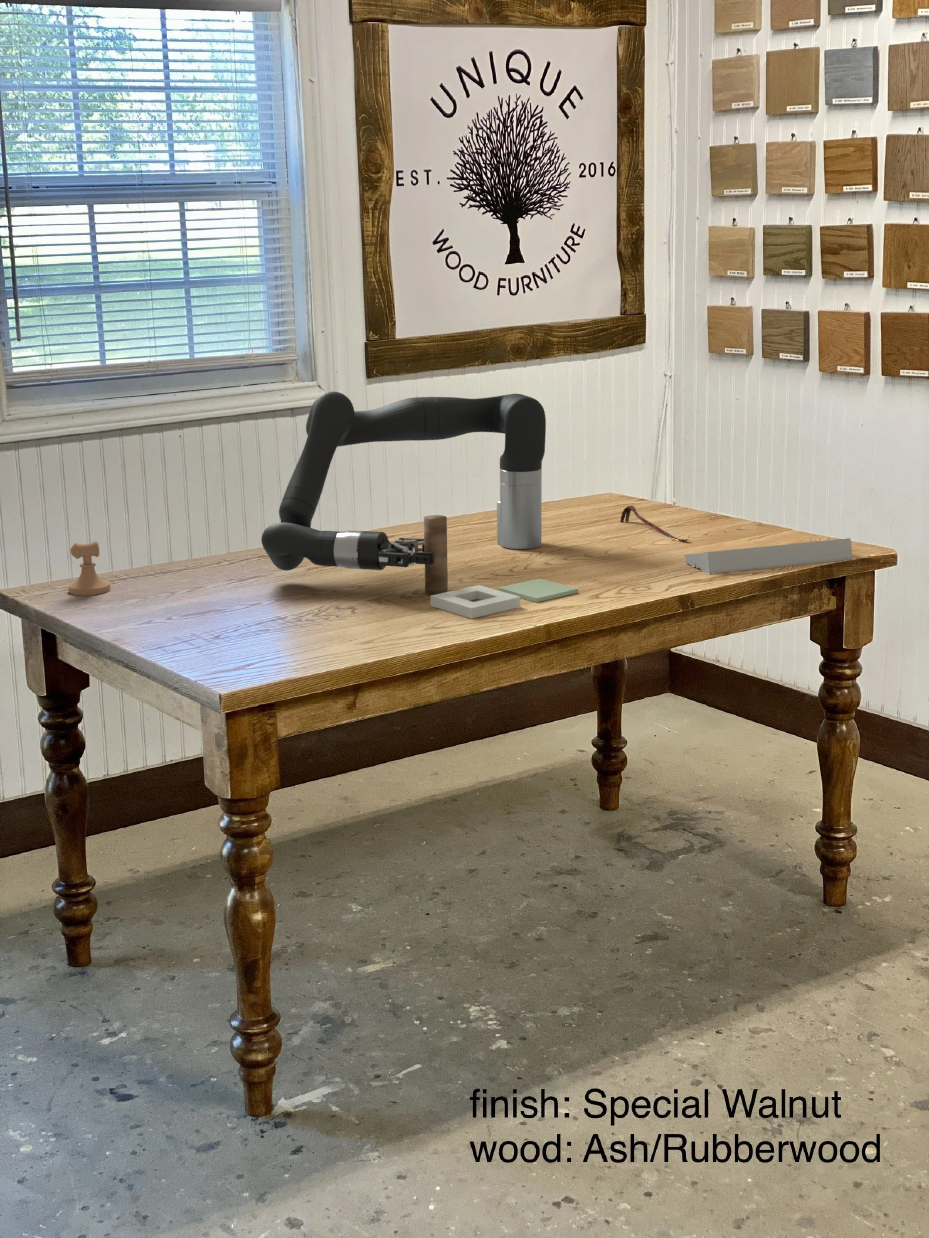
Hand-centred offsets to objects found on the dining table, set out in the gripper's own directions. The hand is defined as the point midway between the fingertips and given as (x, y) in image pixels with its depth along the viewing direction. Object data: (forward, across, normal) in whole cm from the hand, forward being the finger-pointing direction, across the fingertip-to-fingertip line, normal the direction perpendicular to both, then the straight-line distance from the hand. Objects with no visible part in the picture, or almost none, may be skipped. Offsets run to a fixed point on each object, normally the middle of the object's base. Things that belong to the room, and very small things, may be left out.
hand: (440, 553), depth 281 cm
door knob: (-69, +13, -8) cm, 71 cm away
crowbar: (+32, -65, -9) cm, 73 cm away
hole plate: (+9, +8, -8) cm, 15 cm away
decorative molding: (+60, -41, -9) cm, 73 cm away
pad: (+18, -5, -8) cm, 21 cm away
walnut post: (-1, 0, -8) cm, 8 cm away
